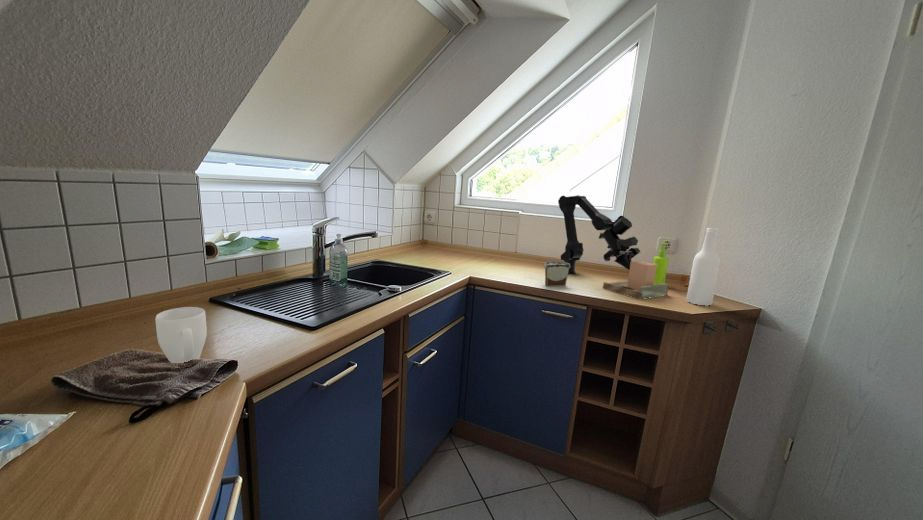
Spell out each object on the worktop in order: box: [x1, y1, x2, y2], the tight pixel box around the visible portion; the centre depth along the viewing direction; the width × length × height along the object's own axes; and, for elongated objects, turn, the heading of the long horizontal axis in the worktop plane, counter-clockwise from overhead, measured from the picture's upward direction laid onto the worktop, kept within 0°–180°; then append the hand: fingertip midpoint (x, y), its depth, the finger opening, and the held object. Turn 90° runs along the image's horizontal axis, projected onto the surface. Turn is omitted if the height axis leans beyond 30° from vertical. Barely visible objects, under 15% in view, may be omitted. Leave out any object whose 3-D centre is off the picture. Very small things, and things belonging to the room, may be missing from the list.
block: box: [627, 260, 657, 290], centre depth 158 cm, size 8×6×11 cm
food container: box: [543, 260, 570, 287], centre depth 165 cm, size 12×6×10 cm, turn 108°
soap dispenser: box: [652, 242, 669, 285], centre depth 174 cm, size 6×7×20 cm
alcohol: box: [686, 227, 721, 306], centre depth 146 cm, size 9×9×30 cm
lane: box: [602, 280, 669, 300], centre depth 161 cm, size 18×19×5 cm
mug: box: [154, 306, 208, 364], centre depth 77 cm, size 12×8×11 cm
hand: (631, 270), depth 162 cm, fingers closed
